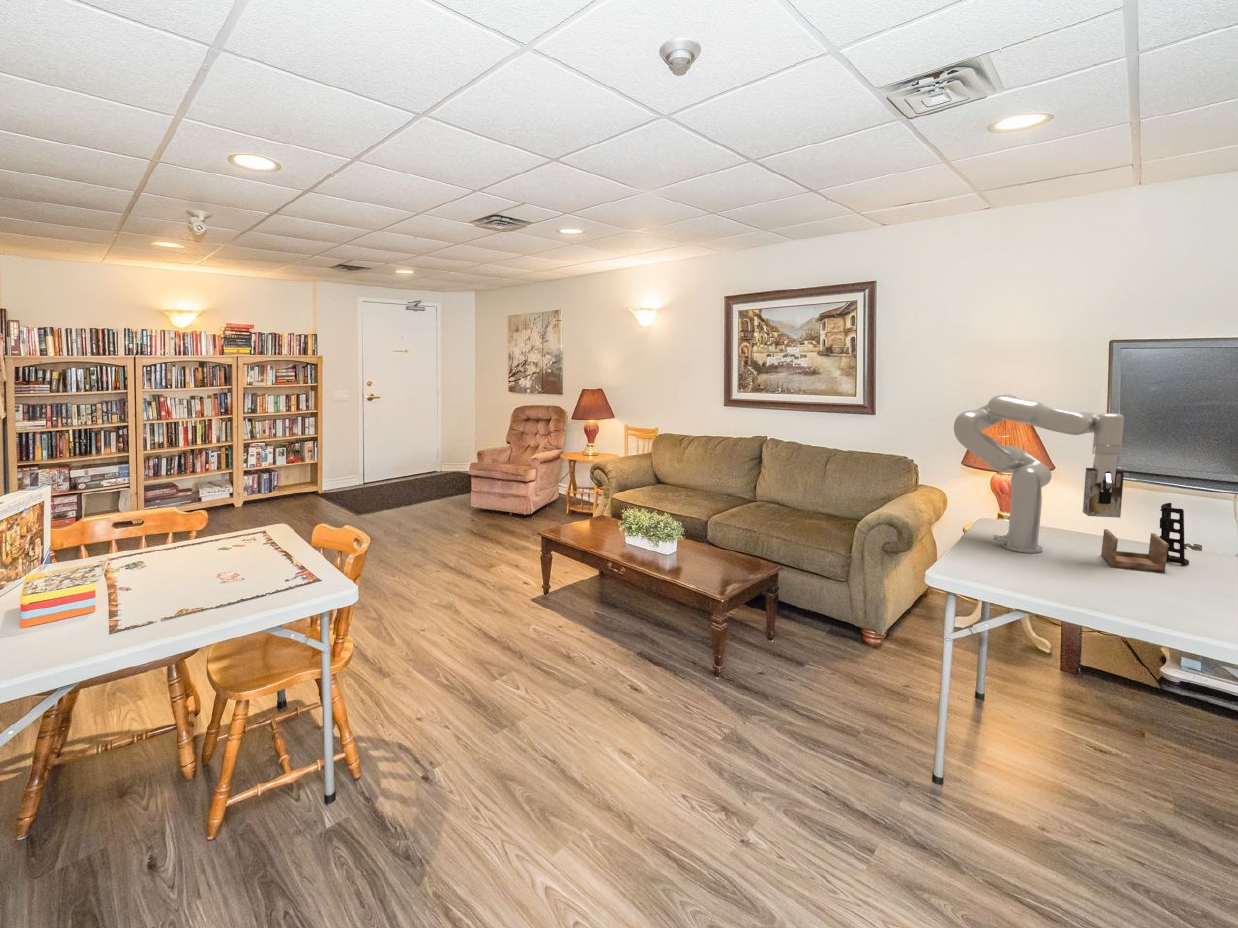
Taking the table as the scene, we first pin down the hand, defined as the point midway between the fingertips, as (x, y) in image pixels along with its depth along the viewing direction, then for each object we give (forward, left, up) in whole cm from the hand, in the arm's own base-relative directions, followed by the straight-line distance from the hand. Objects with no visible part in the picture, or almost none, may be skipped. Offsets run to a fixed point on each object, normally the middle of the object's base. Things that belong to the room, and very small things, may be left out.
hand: (1102, 501), depth 206 cm
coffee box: (0, 0, -5) cm, 5 cm away
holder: (+23, +13, -22) cm, 35 cm away
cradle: (+10, +3, -22) cm, 24 cm away
